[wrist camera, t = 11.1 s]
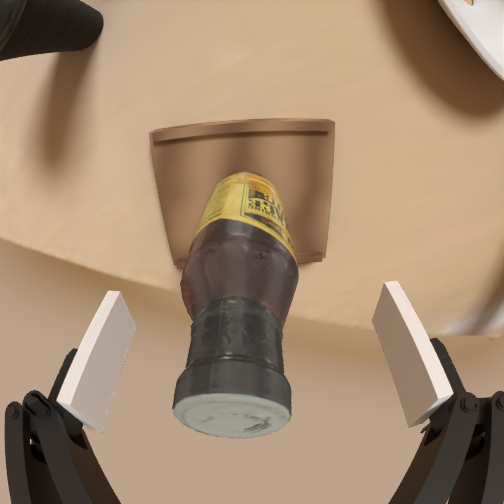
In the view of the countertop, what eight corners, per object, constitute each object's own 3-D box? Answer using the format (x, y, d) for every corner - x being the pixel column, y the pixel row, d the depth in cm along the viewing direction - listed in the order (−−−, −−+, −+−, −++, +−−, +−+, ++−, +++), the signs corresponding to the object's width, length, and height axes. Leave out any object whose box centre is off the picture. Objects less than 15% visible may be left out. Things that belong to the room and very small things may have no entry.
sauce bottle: (289, 213, 26) (346, 430, 9) (230, 239, 27) (215, 454, 10) (260, 152, 22) (297, 361, 6) (196, 183, 24) (109, 397, 7)
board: (328, 119, 22) (336, 122, 20) (321, 247, 30) (326, 261, 28) (155, 129, 23) (146, 134, 20) (178, 254, 30) (173, 268, 28)
